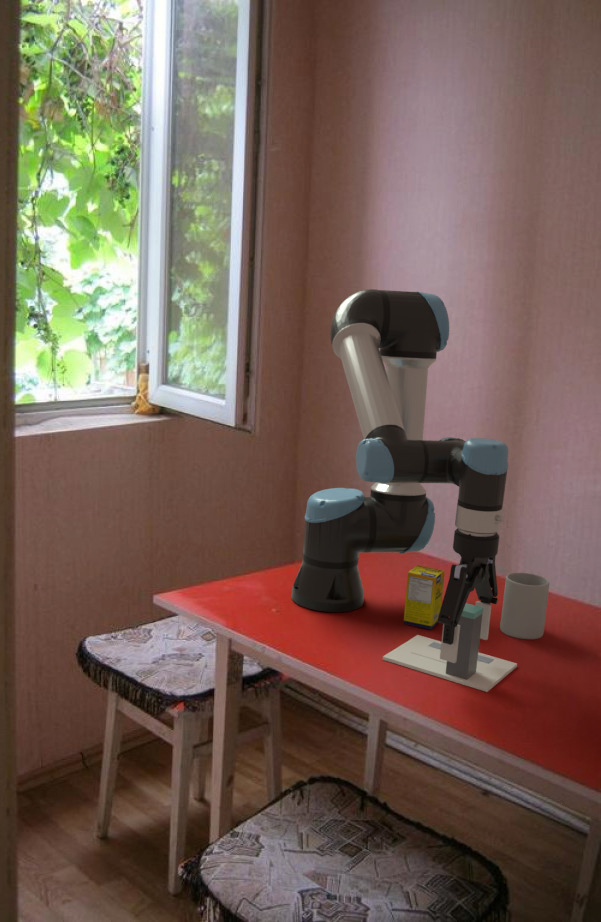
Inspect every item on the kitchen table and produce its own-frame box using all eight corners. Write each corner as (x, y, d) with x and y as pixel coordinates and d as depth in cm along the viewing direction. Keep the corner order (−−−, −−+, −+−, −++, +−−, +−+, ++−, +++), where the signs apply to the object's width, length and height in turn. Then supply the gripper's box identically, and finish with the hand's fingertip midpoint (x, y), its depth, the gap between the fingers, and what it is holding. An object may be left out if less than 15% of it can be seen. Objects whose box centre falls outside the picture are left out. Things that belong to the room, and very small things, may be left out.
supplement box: (440, 621, 192) (445, 569, 190) (431, 630, 187) (436, 577, 185) (412, 615, 195) (417, 564, 193) (402, 624, 189) (407, 571, 187)
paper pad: (382, 659, 171) (382, 656, 171) (417, 637, 183) (417, 634, 183) (487, 692, 161) (487, 688, 161) (516, 666, 172) (517, 663, 172)
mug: (551, 639, 187) (557, 585, 185) (511, 640, 185) (517, 586, 183) (523, 617, 198) (529, 566, 196) (485, 618, 196) (491, 566, 194)
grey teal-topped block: (445, 673, 166) (452, 607, 163) (454, 666, 169) (461, 601, 167) (467, 680, 163) (474, 613, 161) (476, 672, 167) (483, 607, 165)
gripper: (468, 550, 149) (454, 677, 153) (524, 521, 170) (511, 634, 174) (424, 540, 153) (412, 664, 157) (484, 513, 173) (472, 623, 178)
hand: (464, 648), depth 165 cm, fingers open, 13 cm apart
